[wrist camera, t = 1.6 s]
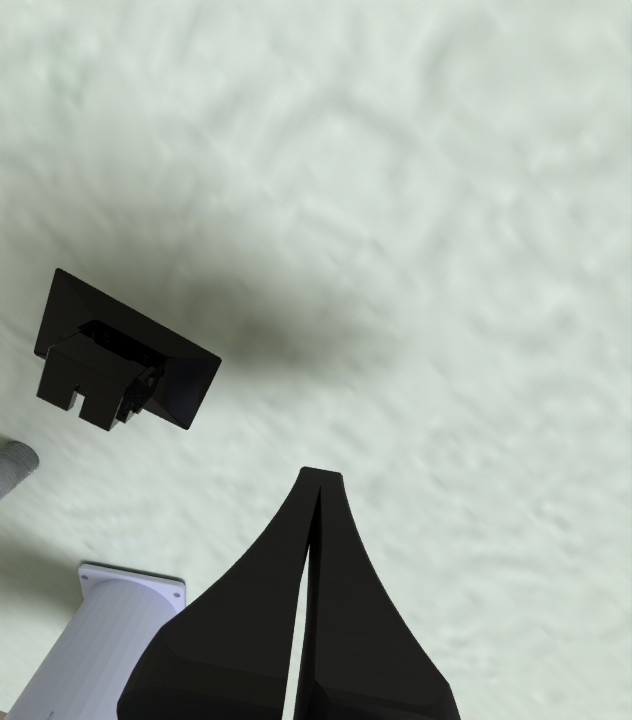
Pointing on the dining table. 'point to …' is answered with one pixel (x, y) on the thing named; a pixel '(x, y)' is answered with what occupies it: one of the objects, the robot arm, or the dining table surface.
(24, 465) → the pin
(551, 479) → the dining table surface
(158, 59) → the dining table surface
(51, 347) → the build plate
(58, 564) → the dining table surface
